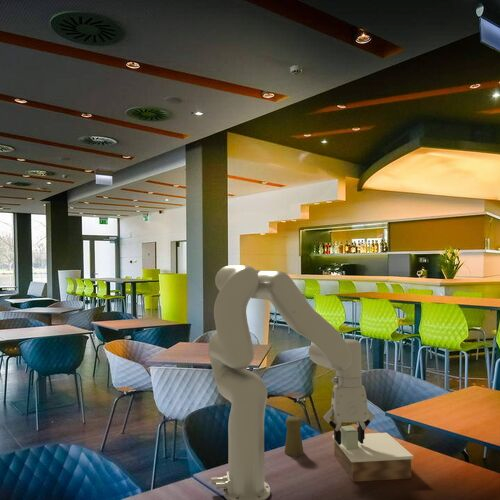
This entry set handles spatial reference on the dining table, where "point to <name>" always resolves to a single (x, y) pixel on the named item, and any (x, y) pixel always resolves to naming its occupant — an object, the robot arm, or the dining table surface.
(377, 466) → the open wooden box
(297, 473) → the dining table surface
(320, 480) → the dining table surface
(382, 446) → the lid
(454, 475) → the dining table surface
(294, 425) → the cork
